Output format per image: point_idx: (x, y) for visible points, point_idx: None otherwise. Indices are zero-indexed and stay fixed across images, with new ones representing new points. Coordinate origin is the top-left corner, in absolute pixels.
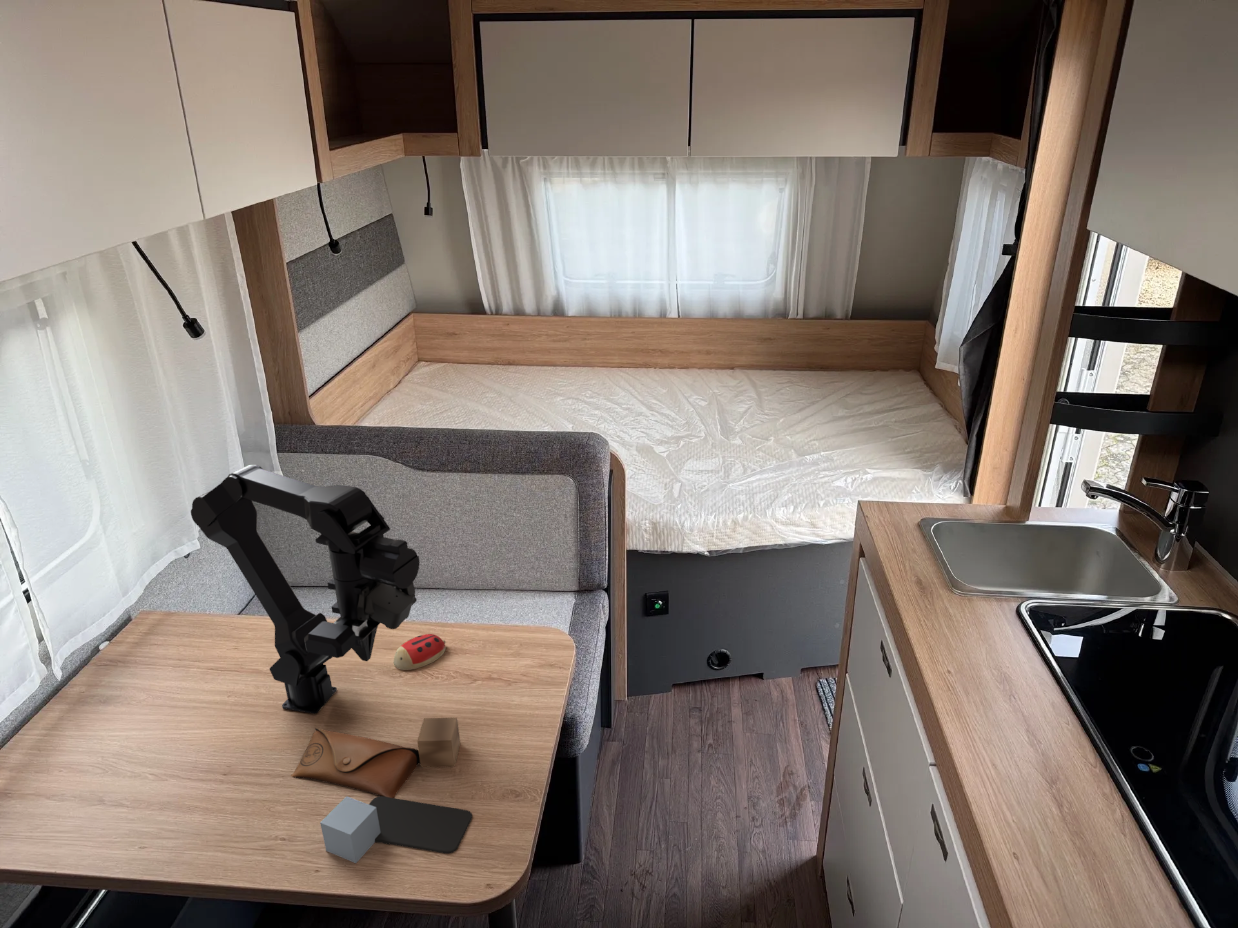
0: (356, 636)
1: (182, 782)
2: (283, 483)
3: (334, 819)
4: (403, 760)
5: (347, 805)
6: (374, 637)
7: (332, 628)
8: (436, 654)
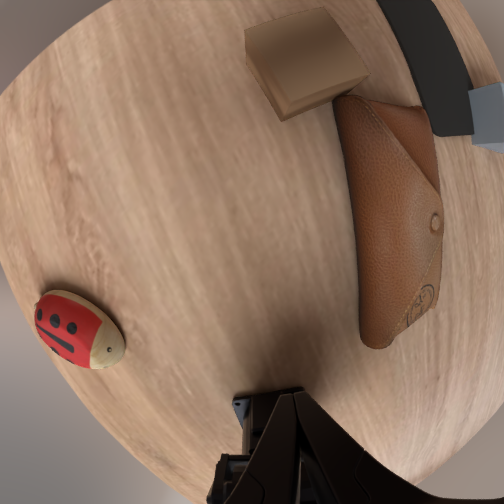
0: None
1: (449, 397)
2: None
3: None
4: (385, 108)
5: None
6: (249, 476)
7: None
8: (60, 295)
